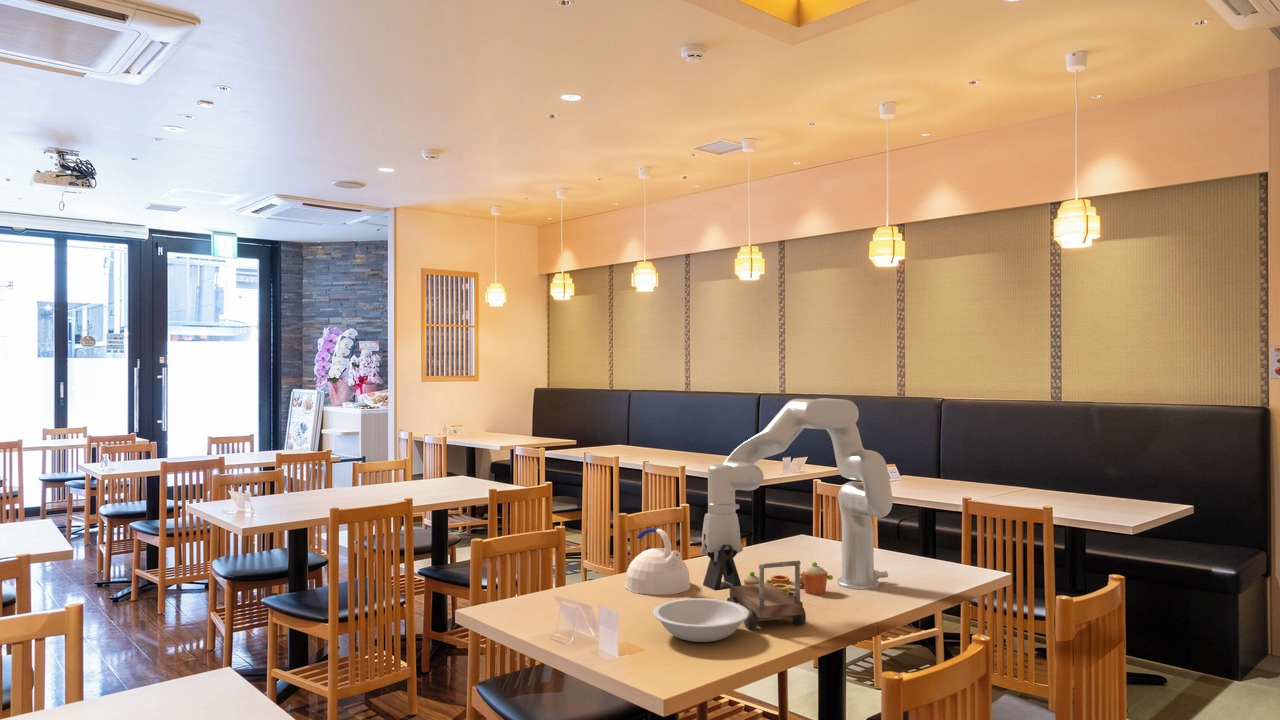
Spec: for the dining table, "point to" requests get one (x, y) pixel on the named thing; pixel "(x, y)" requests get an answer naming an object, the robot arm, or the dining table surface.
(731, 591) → the trolley
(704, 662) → the dining table surface
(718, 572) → the phone stand
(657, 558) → the kettle
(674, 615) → the soup bowl
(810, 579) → the toy tea set
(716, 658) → the dining table surface
